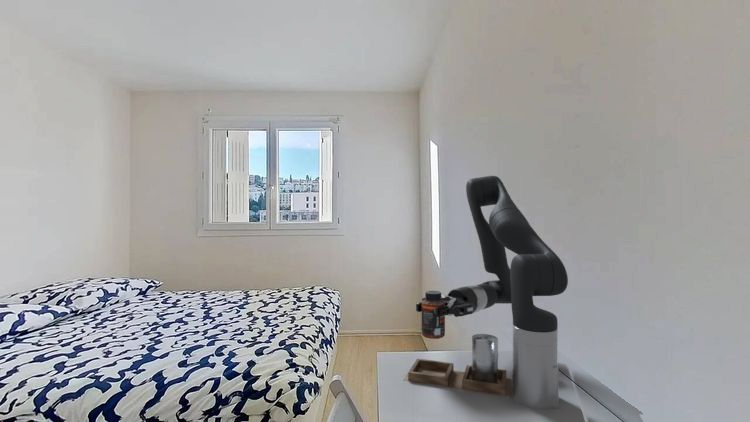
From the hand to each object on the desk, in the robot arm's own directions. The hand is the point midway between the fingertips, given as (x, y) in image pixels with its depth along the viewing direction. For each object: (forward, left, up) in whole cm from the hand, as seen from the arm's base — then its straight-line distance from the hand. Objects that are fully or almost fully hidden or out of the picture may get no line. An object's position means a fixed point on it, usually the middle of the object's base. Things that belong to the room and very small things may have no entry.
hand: (426, 310), depth 99 cm
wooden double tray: (-8, -1, -18) cm, 19 cm away
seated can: (-14, -1, -17) cm, 22 cm away
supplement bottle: (-1, -2, -7) cm, 8 cm away
